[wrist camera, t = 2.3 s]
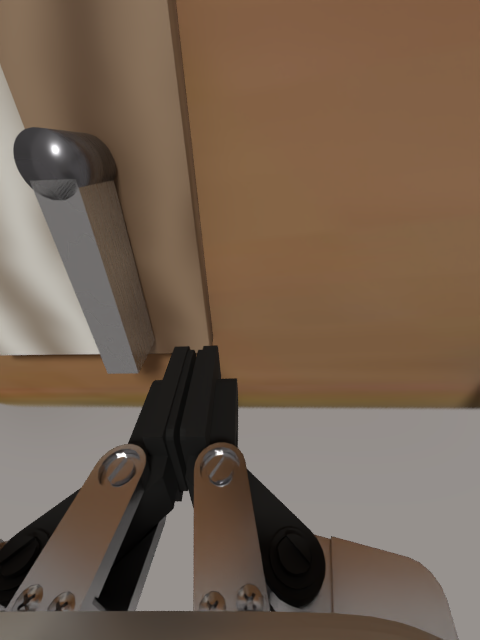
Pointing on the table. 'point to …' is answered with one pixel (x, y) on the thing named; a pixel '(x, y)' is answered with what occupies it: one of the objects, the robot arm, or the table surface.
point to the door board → (130, 160)
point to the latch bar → (89, 238)
